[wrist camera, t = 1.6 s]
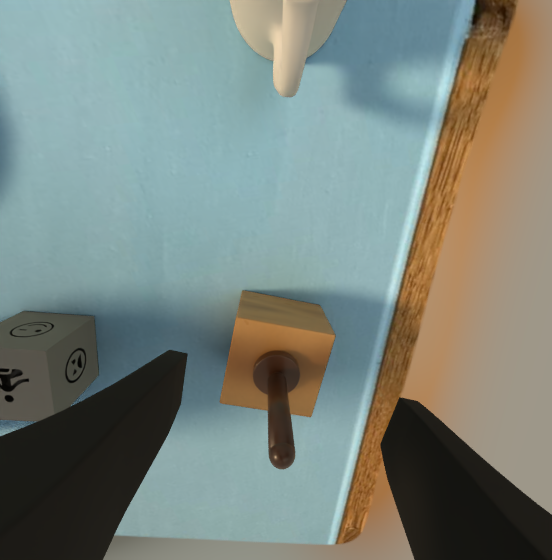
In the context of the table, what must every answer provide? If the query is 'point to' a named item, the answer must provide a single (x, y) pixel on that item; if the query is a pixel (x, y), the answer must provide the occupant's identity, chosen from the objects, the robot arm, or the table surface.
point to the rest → (277, 349)
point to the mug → (286, 33)
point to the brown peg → (278, 402)
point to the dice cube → (45, 363)
